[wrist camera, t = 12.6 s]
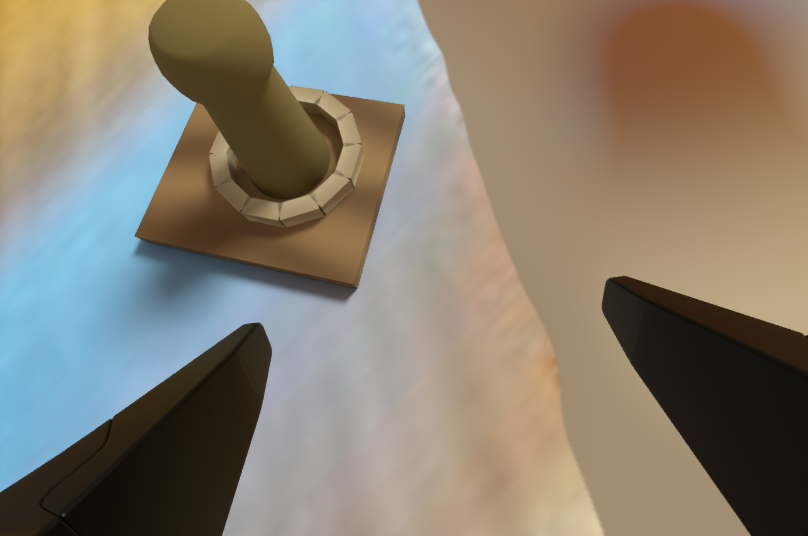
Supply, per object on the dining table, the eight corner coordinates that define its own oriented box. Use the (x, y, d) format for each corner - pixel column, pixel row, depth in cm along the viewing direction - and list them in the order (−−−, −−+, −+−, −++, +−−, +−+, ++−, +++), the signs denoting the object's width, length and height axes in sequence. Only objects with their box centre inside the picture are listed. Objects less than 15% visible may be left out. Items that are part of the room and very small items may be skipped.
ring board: (357, 288, 24) (349, 279, 21) (147, 242, 26) (120, 229, 23) (405, 116, 27) (403, 92, 25) (217, 87, 29) (200, 63, 27)
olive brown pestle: (329, 196, 24) (254, 63, 14) (244, 201, 25) (106, 75, 14) (331, 123, 26) (266, -46, 15) (252, 128, 26) (134, -33, 16)
